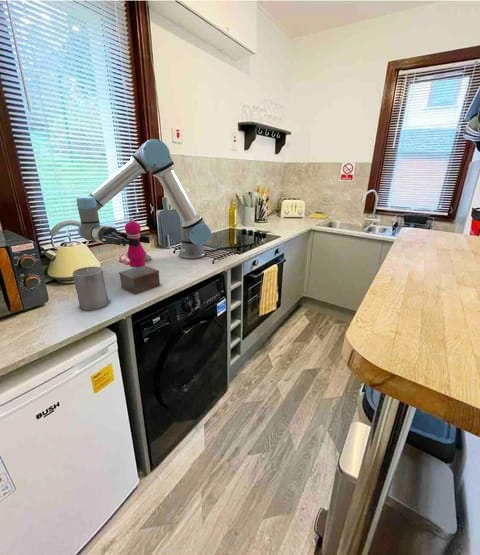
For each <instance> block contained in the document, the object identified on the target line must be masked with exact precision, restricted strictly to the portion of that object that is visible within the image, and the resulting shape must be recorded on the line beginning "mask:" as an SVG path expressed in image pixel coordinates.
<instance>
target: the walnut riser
mask: <svg viewBox="0 0 480 555" xmlns="http://www.w3.org/2000/svg"><path fill="white" fill-rule="evenodd" d="M118 275H119V280H120V285H121V288H122V289H124V290H126V291H128V292H130V293H132V294H134V295H137V294H141V293H143V292H146V291H148V290H151V289H152V290H153V289H154V288H157V287H160V286H161V282H160V270H158V269H156V268H154V267H150V266H147V265H146V264H145V265H144V266H142V267H132V268H129V269H126V270H122V271H119V272H118Z"/></svg>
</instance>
